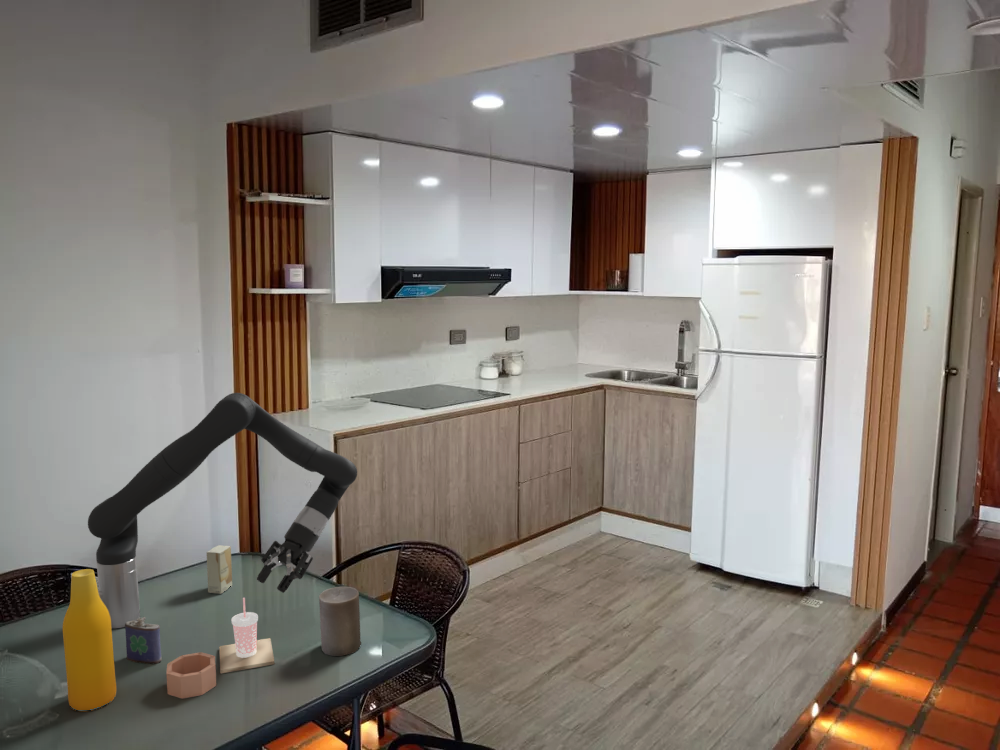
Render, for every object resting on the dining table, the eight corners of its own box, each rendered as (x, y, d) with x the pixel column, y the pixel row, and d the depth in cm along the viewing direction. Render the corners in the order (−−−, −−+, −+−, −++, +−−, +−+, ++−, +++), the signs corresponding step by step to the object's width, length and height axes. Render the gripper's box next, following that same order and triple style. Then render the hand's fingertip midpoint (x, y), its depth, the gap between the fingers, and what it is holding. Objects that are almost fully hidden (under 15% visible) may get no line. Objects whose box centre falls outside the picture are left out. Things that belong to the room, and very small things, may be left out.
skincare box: (221, 594, 221) (219, 553, 219) (207, 593, 222) (205, 552, 220) (233, 585, 227) (231, 545, 225) (220, 584, 228) (217, 544, 226)
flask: (164, 659, 185) (161, 617, 183) (155, 665, 182) (152, 623, 181) (131, 654, 188) (128, 612, 186) (122, 660, 185) (119, 618, 183)
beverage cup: (244, 661, 182) (242, 605, 180) (227, 654, 186) (224, 599, 184) (265, 650, 188) (262, 596, 186) (247, 644, 191) (245, 590, 189)
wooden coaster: (220, 673, 179) (220, 670, 179) (219, 649, 190) (219, 646, 190) (274, 664, 183) (274, 661, 183) (270, 641, 194) (270, 638, 194)
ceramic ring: (167, 701, 168) (165, 679, 167) (169, 678, 177) (167, 657, 176) (216, 692, 171) (215, 671, 170) (215, 670, 180) (214, 649, 180)
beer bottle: (66, 716, 162) (55, 584, 158) (71, 694, 170) (60, 568, 166) (115, 706, 166) (105, 577, 161) (117, 685, 174) (108, 561, 170)
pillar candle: (368, 642, 194) (366, 584, 192) (345, 660, 185) (343, 600, 183) (336, 634, 198) (334, 578, 196) (312, 651, 189) (309, 593, 187)
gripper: (280, 515, 199) (243, 571, 191) (315, 527, 190) (277, 587, 183) (298, 529, 203) (262, 585, 196) (333, 542, 194) (296, 601, 187)
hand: (269, 586), depth 189 cm, fingers open, 8 cm apart
